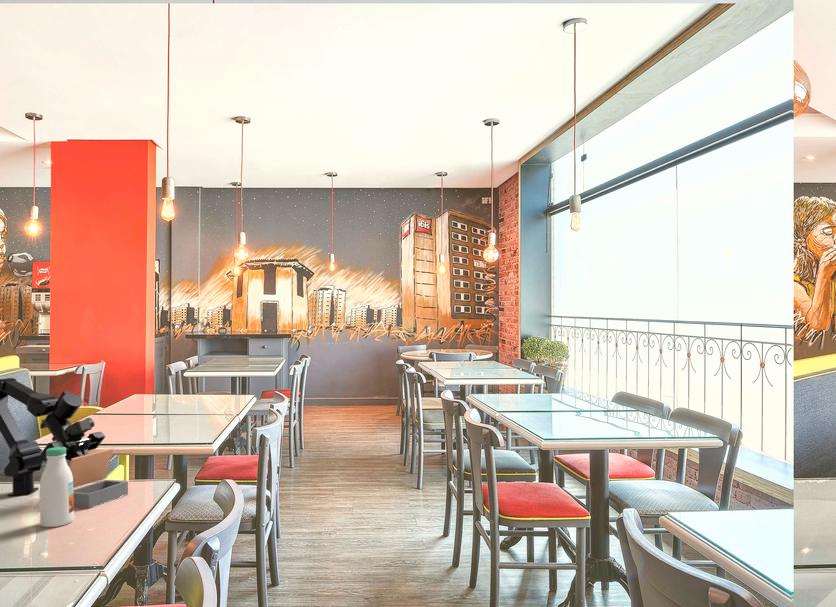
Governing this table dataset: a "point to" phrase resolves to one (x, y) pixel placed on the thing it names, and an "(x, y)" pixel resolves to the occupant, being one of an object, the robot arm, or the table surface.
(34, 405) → the robot arm
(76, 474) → the duct cover
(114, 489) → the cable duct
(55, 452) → the milk bottle
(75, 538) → the table surface
